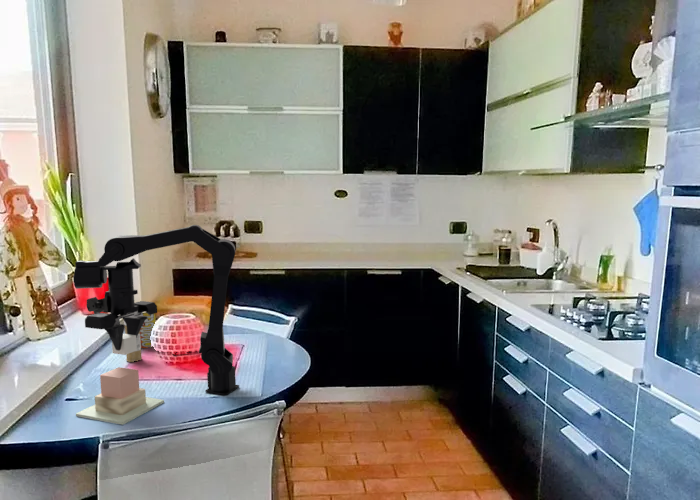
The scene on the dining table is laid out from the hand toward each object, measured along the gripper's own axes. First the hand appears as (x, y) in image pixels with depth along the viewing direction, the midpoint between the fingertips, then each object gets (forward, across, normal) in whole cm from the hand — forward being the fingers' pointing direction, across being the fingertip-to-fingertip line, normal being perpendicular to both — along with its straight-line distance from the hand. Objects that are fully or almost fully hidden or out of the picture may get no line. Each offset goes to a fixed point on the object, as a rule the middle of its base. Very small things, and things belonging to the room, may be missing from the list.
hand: (124, 347), depth 142 cm
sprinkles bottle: (+13, -24, -21) cm, 34 cm away
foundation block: (+12, +6, +4) cm, 15 cm away
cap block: (+1, 0, 0) cm, 1 cm away
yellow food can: (+13, -38, -30) cm, 50 cm away
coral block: (+9, +6, +4) cm, 12 cm away
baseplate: (+13, +6, +4) cm, 15 cm away
